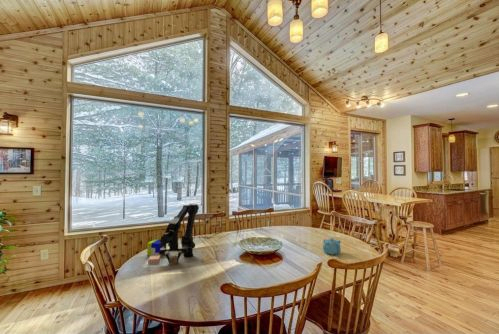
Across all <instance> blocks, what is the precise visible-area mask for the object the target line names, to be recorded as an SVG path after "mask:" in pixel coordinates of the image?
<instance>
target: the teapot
mask: <svg viewBox="0 0 499 334" xmlns="http://www.w3.org/2000/svg"><path fill="white" fill-rule="evenodd" d="M322 241H323V244H322V251H323V252H324V254H326V253H327V254H329V255H330V256H331V255H339V254H341V252H342V249H341V243H342V241H341V240H339V239H338V240H337V239H334V238H332V237H331V238H328V239H326V238H325V239H323V240H322Z"/></svg>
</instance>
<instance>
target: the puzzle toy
mask: <svg viewBox="0 0 499 334" xmlns="http://www.w3.org/2000/svg"><path fill="white" fill-rule="evenodd" d="M146 248H147V249H146V255H147V256H157V255H160V254H159V250H160V248H166V249H167V244H165V245H164V244H162V243H161V240H160V239H155V238H154V239H152V240H151V241H149V242H147V245H146ZM162 255H163V254H161V255H160V256H162Z"/></svg>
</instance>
